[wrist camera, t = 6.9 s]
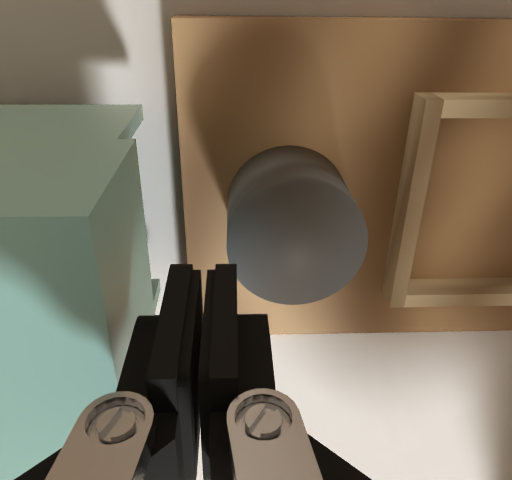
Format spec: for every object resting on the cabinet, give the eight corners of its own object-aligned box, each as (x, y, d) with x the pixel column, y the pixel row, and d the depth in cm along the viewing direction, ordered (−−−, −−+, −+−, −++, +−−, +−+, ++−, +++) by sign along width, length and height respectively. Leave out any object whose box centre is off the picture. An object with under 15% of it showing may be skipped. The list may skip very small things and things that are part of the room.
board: (654, 20, 17) (787, 33, 13) (545, 313, 23) (612, 385, 19) (175, 15, 16) (155, 27, 12) (194, 319, 23) (185, 395, 19)
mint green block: (156, 104, 16) (87, 216, 9) (172, 288, 20) (134, 482, 12) (-71, 104, 16) (-351, 220, 8) (-14, 291, 20) (-172, 491, 12)
